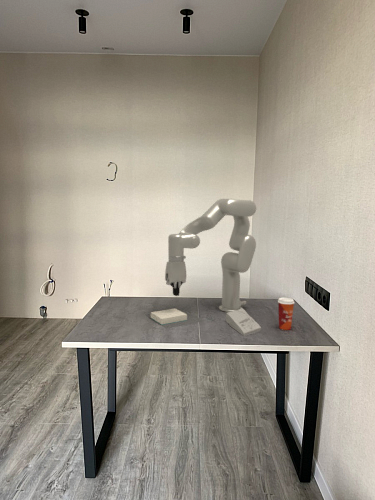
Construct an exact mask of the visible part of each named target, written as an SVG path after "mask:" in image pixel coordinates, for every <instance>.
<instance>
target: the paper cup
mask: <svg viewBox="0 0 375 500" xmlns="http://www.w3.org/2000/svg"><path fill="white" fill-rule="evenodd" d="M277 303H278V304H277V305H278V307H277V308H278V328H279V329H280V330H282V329H283V330H284V331H289V330H290V331H291V329H292V323H293V314H294V306H295V301H294V299H293V298H290V297H279V298H278V300H277Z"/></svg>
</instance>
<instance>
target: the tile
mask: <svg viewBox="0 0 375 500" xmlns="http://www.w3.org/2000/svg"><path fill="white" fill-rule="evenodd" d="M179 310H180V309H177V308H175V307H174V308H169V309H163V310H158V311H157V310H156V311H151V312H150V315H151V318H150V319H151V320H152V319H153V321H154V320H155V321H156V322H155V321H154V322H155V323H157V322H158V323H159V324H158V323H157V324H158V325H160V324H161V325H164V324H170V323H175V322H181V321H186V320H187V314H185V313H183V312H181V311H179ZM161 325H160V326H161Z"/></svg>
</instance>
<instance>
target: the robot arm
mask: <svg viewBox="0 0 375 500" xmlns="http://www.w3.org/2000/svg"><path fill="white" fill-rule="evenodd" d="M256 212H257V205H256V203H255V202H254V201H252V200H251V199H235V198H220V199H217V200H216V201H215V202H214V203H213V204H212V205H211V206H210V207H209V208H208V209H207V210H206V211H205V212H204V213H203V214H202V215H201V216H199V217H198V218H196V219H194V220H193V221H190V222H189V223H188V224H186V225H185V226H184V228H182V229H181V230H180V232H178V233H171V234H169V235H168V237H167V239H168V243H167V244H168V245H167V246H168V250H167V251H168V256H167V257H168V261H167V262H166V265H165V271H164V272H165V273H164V280H165V281H166V282H165V285H168V286H171V288H172V295H173V296H174V297H178V296H180V293H181V292H180V288H181V287H182V285H183V284H186V282H187V267H186V262H185V261H184V260H186V255H184V250H185V249H190V250H191V249H196V248H198V246H200V244H201V238H200V237H199V235H198V234H200V233H203V232H205V231H209V230H211V229H213V228H214V227H216V225H218V224H219V223H220V222H221V220H223V218H225V217H226V216H230V217H231V216H232V218H233V221H234V223H233V227H232V228H233V229H232V232H231V235H230V239H229V242H228V246H229V248H230V249H231V250H233V251H237V253H236V252H233V251H232V252H231V251H228V252H225V253H224V254H223V255H222V257H221V261H220V263H221V264H220V265H221V271H222V283H221V284H222V287H221V290H222V291H221V295H222V296H221V305H219V306H218V309H219V311H222V312H225V313H228V312H232V311H237V310H239V309H241V308H243V307H242V306H244V305H246V304H247V301H246V300H241V299H240V294H241V275H240V274H241V273H242V274H243V273H246V272H247V271H249V270H250V267H251V265H252V262H253V258H254V256H255V255H254V254H255V252H256V247H257V242H256V239H255V237H254V236H252V235H251V234H249V230H250V227H251V225H250V224H251V223H250V222H251V221H250V219H249V217H252V216H254V215H255V213H256Z"/></svg>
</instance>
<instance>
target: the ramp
mask: <svg viewBox="0 0 375 500" xmlns="http://www.w3.org/2000/svg"><path fill="white" fill-rule="evenodd" d="M225 322H226V323H228V325H229V326H230V328H232V329H234V330H235V331H237V332H238V333H239V334H241V336H243V337H246V336H249V335H252V334H256V333H259V332H262V327H261V325H260V324H259V323H258V322H257V321H255V319H254V318H253V317H252V316H250V315H249V314H248V312H247V311H246V310H245V309H244V308H243V307H242V308H241V309H239V310H237V311H232V312H225Z"/></svg>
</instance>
